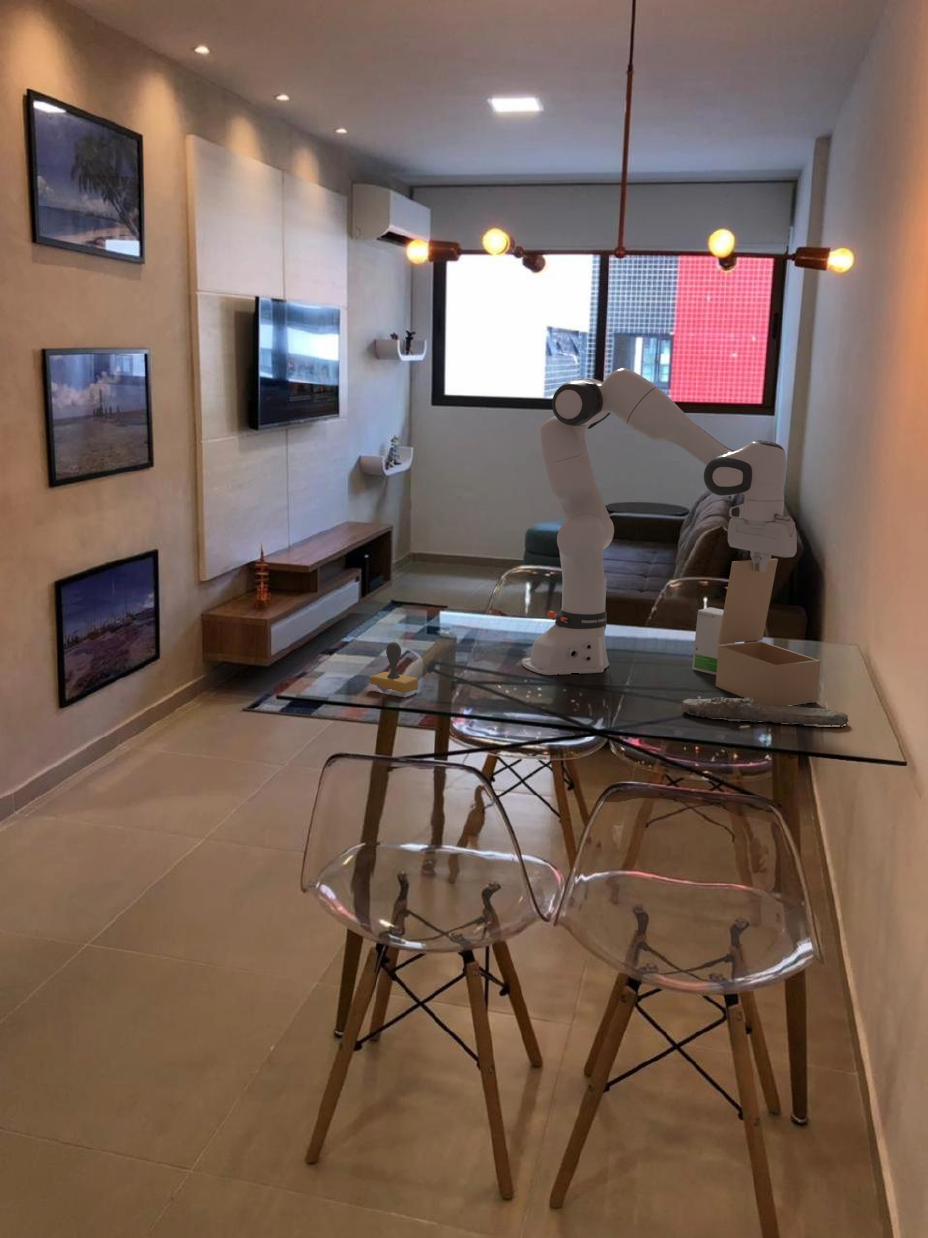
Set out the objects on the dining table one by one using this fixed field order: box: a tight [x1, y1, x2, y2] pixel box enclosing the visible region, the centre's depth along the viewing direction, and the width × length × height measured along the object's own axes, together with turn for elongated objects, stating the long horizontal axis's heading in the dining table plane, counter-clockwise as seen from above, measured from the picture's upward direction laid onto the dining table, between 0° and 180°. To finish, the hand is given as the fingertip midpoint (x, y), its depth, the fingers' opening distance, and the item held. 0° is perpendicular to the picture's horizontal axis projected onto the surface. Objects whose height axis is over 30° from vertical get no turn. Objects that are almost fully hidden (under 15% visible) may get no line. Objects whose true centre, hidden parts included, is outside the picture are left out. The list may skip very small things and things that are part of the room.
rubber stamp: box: [369, 641, 419, 693], centre depth 246 cm, size 10×6×12 cm, turn 56°
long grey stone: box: [681, 696, 849, 726], centre depth 231 cm, size 35×5×10 cm
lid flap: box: [718, 558, 779, 644], centre depth 254 cm, size 13×20×1 cm
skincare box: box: [691, 606, 736, 676], centre depth 269 cm, size 8×7×16 cm
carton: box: [715, 640, 821, 706], centre depth 250 cm, size 13×20×10 cm, turn 25°
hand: (759, 571), depth 249 cm, fingers closed
